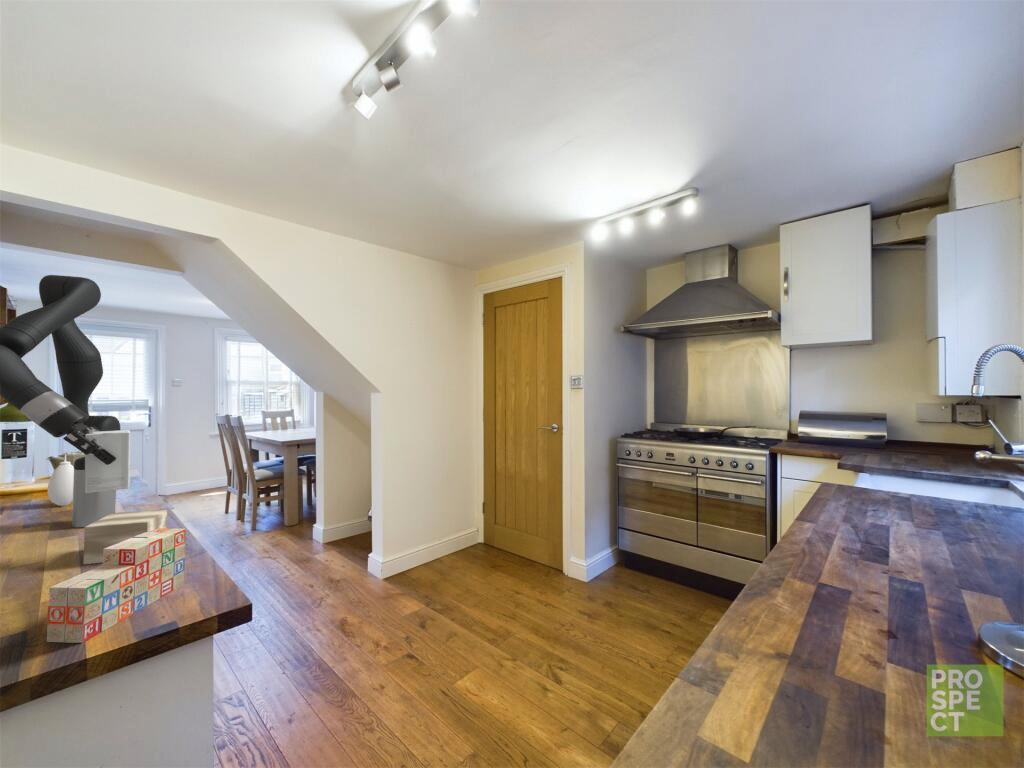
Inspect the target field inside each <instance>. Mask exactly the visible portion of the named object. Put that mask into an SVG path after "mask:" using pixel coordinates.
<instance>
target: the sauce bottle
mask: <svg viewBox="0 0 1024 768" xmlns="http://www.w3.org/2000/svg"><path fill="white" fill-rule="evenodd" d="M73 483H74V465H73V464H72V462H71V461H67V454H64V460H63V461H61V462H59V465H58V466H57V467H56V468H55V469H54V470H53V472H52V474H51V476H50V478H49V481H48V484H47V496H48V498H49V500H50V502H52V504H56V506H60V507H66V506H68V505H70V504H71V503H72V502H73Z"/></svg>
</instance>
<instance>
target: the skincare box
mask: <svg viewBox="0 0 1024 768" xmlns="http://www.w3.org/2000/svg"><path fill="white" fill-rule="evenodd" d="M85 438H86V439H88V440H89V441H92V439H93V438H95V439H96V440H97V441H96V442H97V443H98V444H99V445H101V446H102V447H103V449H105V450H107V451H108V452H109V453H111V454H112V455H113V456H115V457H116V460H115V461H114V462H112V463H111V464H109V465H106V464H105V463H104V462H102V461H101V460H99V459H98V458H97V457H95V456H94V455H93V456H92V455H90V454H88V455H86V454H84V457H85V493H91V492H100V491H109V490H116V491H117V490H127V489H129V488H130V485H131V430H130V429H123V430H121V429H120V430H118V431H100V432H93V433H90V434H86V435H85ZM86 445H87V443H85V446H86ZM88 447H90V446H88Z"/></svg>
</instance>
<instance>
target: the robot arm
mask: <svg viewBox="0 0 1024 768" xmlns="http://www.w3.org/2000/svg"><path fill="white" fill-rule="evenodd" d="M38 292H39V293H38V294H39V298H40V302H41V305H42V306H41V307H38V308H36V309H33V310H30V311H26V312H25V313H22V314H20V315H17V316H15V317H14V318H12V319H11V320H9V321H8V322H6V323H5V324H4V325H2V326H1V327H0V396H1V397H2V398H3V399H4V400H5V401H6V402H8V403H9V404H10V405H11V406H13V407H14V408H16V409H17V410H18V411H20V412H21V413H22V414H23V415H24V416H25V417H27V418H28V419H29V420H30V421H32V422H33V423H34V424H36V425H38V427H40V428H41V429H43V430H44V431H45V432H47V433H48V434H49V435H51V436H52V437H54V438H63V440H64V441H65V442H67V443H68V444H70V445H71V446H73V447H74V448H75V449H77V450H79V451H80V452H82V453H83V454H84V455H85V454H86V455H88V454H90V455H92V456H93V455H94V456H95V457H97V458H98V459H99V460H101V461H102V462H104V463H105V464H106V465H109V464H111V463H112V462H114V461H115V460H116V457H115V456H113V455H112V454H111V453H109V452H108V451H107V450H105V449H103V447H102V446H101V445H99V444H98V443H97V442H96V441H97V440H96V439H95V438H93V439H92V441H89V440H88V439H86V438H85V435H86V434H90V433H93V432H100V431H118V430H121V423H120V420H119V418H117V417H116V416H113V415H90V412H89V400H90V398H91V395H92V394H93V392H94V390H95V389H96V388H97V387H98V386H99V383H100V382H101V380H102V378H103V375H104V367H103V361H102V355H101V353H100V350H99V349H98V348H97V346H96V345H95V344H94V343H93V342H92V341H91V340H90V339H89V338H88V336H87V335H86V334H84V332H83V331H82V330H81V329H80V328H79V327H78V325H77V323H76V321H75V319H77V318H78V317H80V316H82V315H83V314H86V313H88V312H89V311H91V310H93V309H95V307H97V306H98V304H99V303H100V301H101V298H102V293H101V289H100V286H99V285H98V284H97V282H96V281H94V280H93V279H91V278H88V277H87V278H86V277H83V276H74V275H73V276H71V275H57V274H47V275H45V276H43V277H42V278H41V279H40V281H39V283H38ZM50 335H51V337H52V342H53V347H54V351H55V352H54V353H55V359H56V364H57V369H58V375H59V378H60V383H61V389H62V394H63V395H61V394H60V393H58V392H56V391H54V389H52V388H51V387H49V386H48V385H46V384H45V383H44V382H43V381H41V380H40V379H38V378H37V376H36V375H35V374H34V373H33V371H32V370H31V369H30V368H29V366H28V365H27V364H26V363H25V361H24V360H23V359H22V358H24V357H25V356H26V355H27V354H29V353H30V352H31V351H33V350H34V349H35V348H36V347H37V346H39V345H40V344H41V343H42V342H43V341H44V340H45V339H46V338H47V337H49V336H50ZM85 443H87V445H86V446H85ZM88 446H90V447H88ZM73 467H74V483H73V501H72V510H71V511H72V514H71V526H72V527H73V528H85V527H86V526H88V525H90V524H92V523H94V522H96V521H98V520H100V519H102V518H104V517H105V516H107V515H109V514H111V513H116V499H117V490H109V491H100V492H91V493H85V456H82V457H79V458H77V459H75V460H74V463H73Z"/></svg>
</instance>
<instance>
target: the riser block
mask: <svg viewBox="0 0 1024 768" xmlns="http://www.w3.org/2000/svg"><path fill="white" fill-rule="evenodd" d="M158 528H168V508H165V509H150V510H137V511H126V512H124V511H122V512H115V513H111V514H109V515H107V516H105V517H104V518H102V519H100V520H98V521H96V522H94V523H92V524H90V525H88V526H86V527H84V538H83V539H84V541H83V565H92V563H93V564H103V549H104V548H107V547H110V546H112V545H115V544H118V543H120V542H122V541H125V540H128V539H130V538H133V537H134V536H137V535H140V534H142V533H145V532H150V531H153V530H155V529H158Z"/></svg>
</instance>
